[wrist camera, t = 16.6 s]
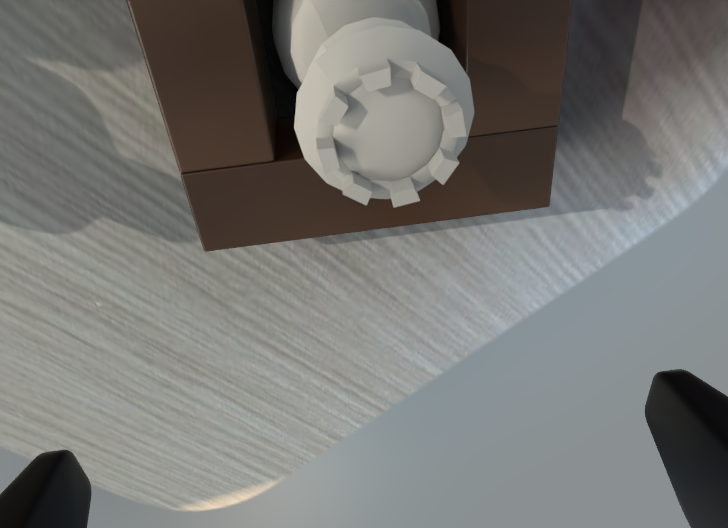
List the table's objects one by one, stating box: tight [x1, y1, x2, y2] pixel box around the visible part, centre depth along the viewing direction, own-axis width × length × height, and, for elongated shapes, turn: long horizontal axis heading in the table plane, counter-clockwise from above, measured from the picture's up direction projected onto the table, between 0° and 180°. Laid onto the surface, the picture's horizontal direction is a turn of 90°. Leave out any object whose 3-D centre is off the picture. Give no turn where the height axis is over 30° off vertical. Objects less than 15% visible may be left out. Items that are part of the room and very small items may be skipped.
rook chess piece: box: [272, 0, 475, 208], centre depth 13 cm, size 4×4×8 cm
